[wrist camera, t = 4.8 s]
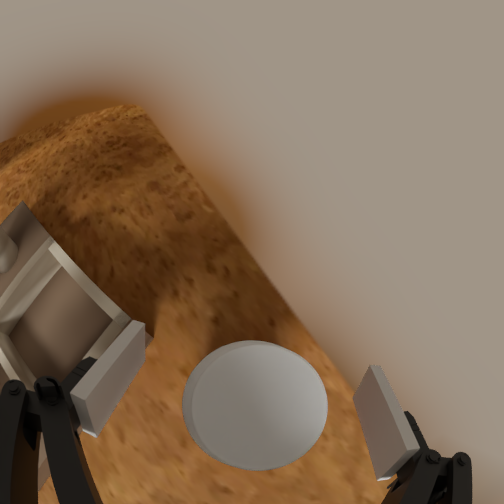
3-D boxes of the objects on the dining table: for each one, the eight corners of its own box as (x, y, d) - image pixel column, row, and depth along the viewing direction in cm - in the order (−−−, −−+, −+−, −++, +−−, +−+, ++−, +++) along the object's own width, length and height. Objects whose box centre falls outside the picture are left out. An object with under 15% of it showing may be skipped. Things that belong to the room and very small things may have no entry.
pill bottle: (302, 400, 18) (380, 397, 8) (242, 457, 15) (263, 519, 6) (242, 344, 20) (261, 288, 10) (180, 398, 17) (131, 400, 8)
